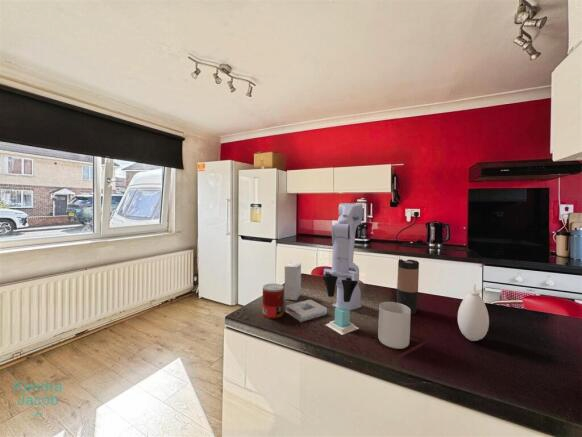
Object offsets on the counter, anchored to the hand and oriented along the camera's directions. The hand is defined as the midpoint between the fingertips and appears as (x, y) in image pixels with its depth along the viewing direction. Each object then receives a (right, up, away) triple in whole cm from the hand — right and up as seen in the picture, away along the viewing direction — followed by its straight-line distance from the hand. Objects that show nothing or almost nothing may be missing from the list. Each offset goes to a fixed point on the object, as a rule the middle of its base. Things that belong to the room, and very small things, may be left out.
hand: (338, 299), depth 85 cm
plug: (+1, -10, +1) cm, 10 cm away
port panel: (-10, -9, +11) cm, 18 cm away
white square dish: (+1, -10, +1) cm, 10 cm away
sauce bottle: (+41, -11, -5) cm, 43 cm away
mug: (+16, -11, -7) cm, 20 cm away
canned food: (-23, -9, +10) cm, 27 cm away
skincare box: (-15, -9, +29) cm, 34 cm away
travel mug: (+30, -10, +16) cm, 36 cm away
